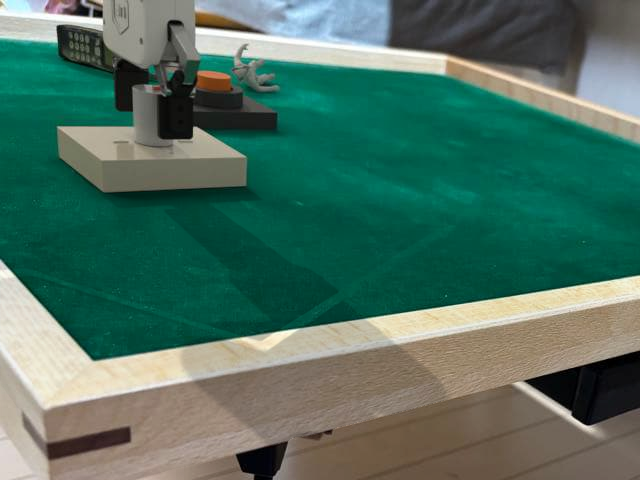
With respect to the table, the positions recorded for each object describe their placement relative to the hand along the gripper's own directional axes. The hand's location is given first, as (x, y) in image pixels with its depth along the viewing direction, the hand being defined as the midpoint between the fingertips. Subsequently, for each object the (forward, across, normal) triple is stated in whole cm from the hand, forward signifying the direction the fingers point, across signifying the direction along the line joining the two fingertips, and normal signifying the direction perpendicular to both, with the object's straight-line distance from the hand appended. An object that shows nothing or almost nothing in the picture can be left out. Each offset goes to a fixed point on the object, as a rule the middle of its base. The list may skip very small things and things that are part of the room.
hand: (153, 124), depth 86 cm
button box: (+5, -20, +16) cm, 26 cm away
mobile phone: (+5, -45, +13) cm, 47 cm away
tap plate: (+5, 0, 0) cm, 5 cm away
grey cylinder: (+2, 0, 0) cm, 2 cm away
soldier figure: (+5, -38, +31) cm, 49 cm away
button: (+1, -20, +16) cm, 26 cm away
